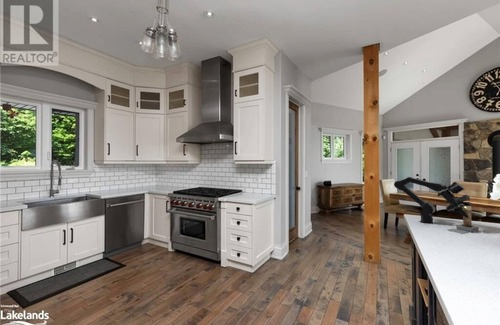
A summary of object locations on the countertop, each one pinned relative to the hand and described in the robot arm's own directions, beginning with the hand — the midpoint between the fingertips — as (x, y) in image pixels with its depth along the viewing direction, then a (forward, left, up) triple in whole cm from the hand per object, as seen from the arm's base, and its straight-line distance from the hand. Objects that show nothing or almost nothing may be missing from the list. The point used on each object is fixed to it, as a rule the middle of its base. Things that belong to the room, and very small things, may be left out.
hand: (469, 217), depth 149 cm
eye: (-1, 0, -9) cm, 9 cm away
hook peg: (-1, 0, -7) cm, 7 cm away
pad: (-2, -8, -9) cm, 13 cm away
